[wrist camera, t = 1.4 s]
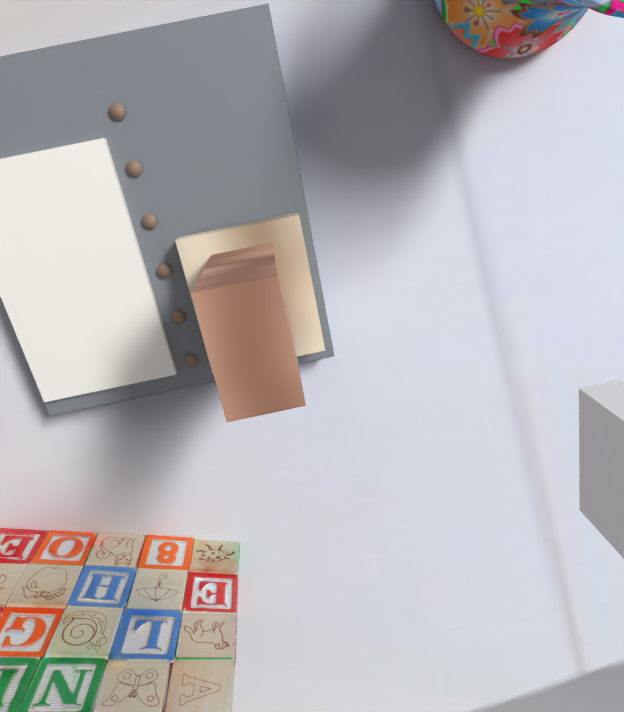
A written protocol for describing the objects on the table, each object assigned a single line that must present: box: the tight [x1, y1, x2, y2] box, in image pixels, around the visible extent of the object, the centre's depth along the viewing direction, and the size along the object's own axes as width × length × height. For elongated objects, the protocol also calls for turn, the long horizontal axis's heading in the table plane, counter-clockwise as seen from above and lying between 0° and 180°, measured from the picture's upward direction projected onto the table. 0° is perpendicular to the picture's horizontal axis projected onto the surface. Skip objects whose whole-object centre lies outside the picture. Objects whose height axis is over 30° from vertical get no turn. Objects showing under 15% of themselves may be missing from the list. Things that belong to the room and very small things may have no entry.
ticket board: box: [0, 4, 334, 416], centre depth 27 cm, size 16×17×2 cm
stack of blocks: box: [0, 528, 240, 712], centre depth 29 cm, size 21×6×12 cm, turn 81°
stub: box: [175, 213, 325, 422], centre depth 23 cm, size 6×7×9 cm
